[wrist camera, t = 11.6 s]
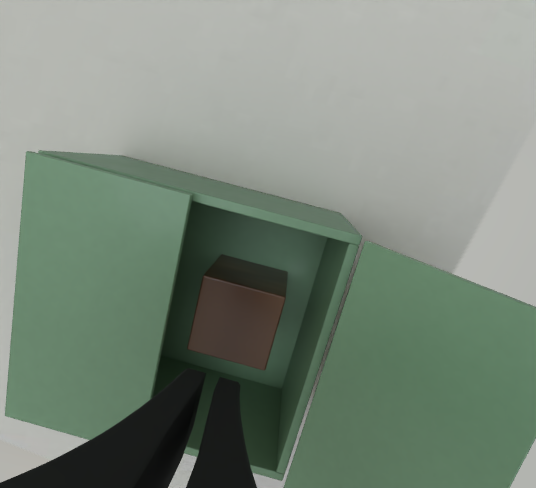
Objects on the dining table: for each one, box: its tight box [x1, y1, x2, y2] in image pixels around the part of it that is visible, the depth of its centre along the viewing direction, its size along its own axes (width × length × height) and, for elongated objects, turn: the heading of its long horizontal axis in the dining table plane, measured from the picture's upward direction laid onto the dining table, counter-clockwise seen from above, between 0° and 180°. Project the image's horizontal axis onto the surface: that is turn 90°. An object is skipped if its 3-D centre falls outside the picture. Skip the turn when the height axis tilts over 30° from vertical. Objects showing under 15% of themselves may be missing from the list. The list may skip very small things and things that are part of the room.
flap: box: [284, 241, 536, 488], centre depth 11 cm, size 6×12×1 cm
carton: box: [5, 150, 362, 481], centre depth 17 cm, size 13×12×7 cm
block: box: [187, 254, 288, 370], centre depth 18 cm, size 4×4×4 cm
